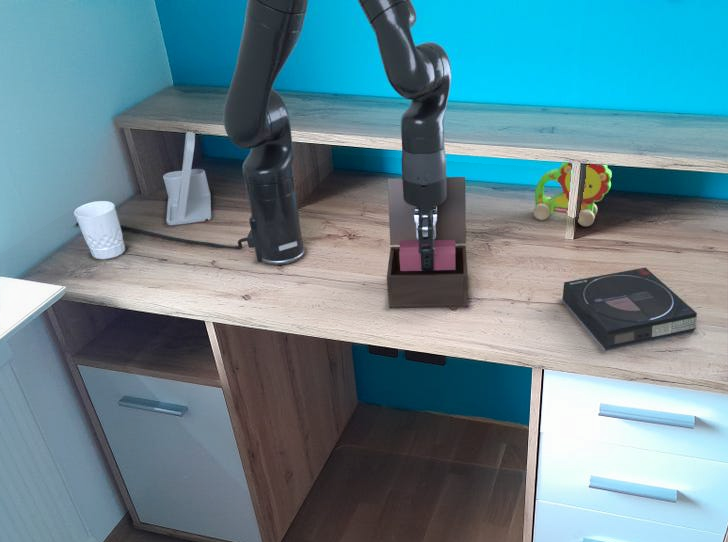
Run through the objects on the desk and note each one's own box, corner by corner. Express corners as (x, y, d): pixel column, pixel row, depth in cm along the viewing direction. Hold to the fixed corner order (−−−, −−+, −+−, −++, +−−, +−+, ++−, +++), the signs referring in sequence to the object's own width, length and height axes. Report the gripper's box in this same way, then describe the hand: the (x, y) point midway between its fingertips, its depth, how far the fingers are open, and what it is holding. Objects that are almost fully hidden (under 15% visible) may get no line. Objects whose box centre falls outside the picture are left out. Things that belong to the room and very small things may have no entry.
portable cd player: (606, 353, 114) (609, 333, 111) (562, 301, 127) (564, 282, 125) (694, 334, 117) (699, 315, 115) (642, 286, 130) (645, 267, 128)
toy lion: (531, 220, 155) (535, 153, 145) (537, 210, 159) (542, 144, 150) (603, 229, 150) (612, 161, 141) (607, 219, 154) (616, 152, 145)
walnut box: (467, 307, 126) (467, 275, 122) (389, 308, 127) (386, 276, 123) (465, 276, 135) (465, 245, 131) (392, 277, 136) (390, 246, 132)
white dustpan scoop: (169, 196, 171) (149, 123, 160) (211, 191, 173) (194, 119, 162) (166, 226, 158) (145, 148, 147) (212, 219, 160) (194, 142, 149)
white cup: (112, 240, 152) (97, 198, 147) (136, 248, 149) (122, 205, 143) (81, 255, 147) (65, 212, 141) (106, 264, 144) (90, 219, 138)
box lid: (465, 176, 128) (465, 176, 128) (387, 178, 128) (388, 178, 129) (466, 243, 131) (465, 243, 131) (390, 245, 131) (390, 244, 132)
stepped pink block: (400, 271, 125) (398, 253, 123) (401, 257, 129) (400, 240, 127) (455, 270, 125) (455, 252, 123) (455, 256, 129) (455, 239, 127)
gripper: (404, 158, 122) (408, 244, 133) (400, 190, 111) (405, 282, 121) (446, 157, 122) (447, 243, 132) (446, 189, 111) (448, 281, 121)
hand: (427, 261), depth 127 cm, fingers closed on stepped pink block, 5 cm apart
